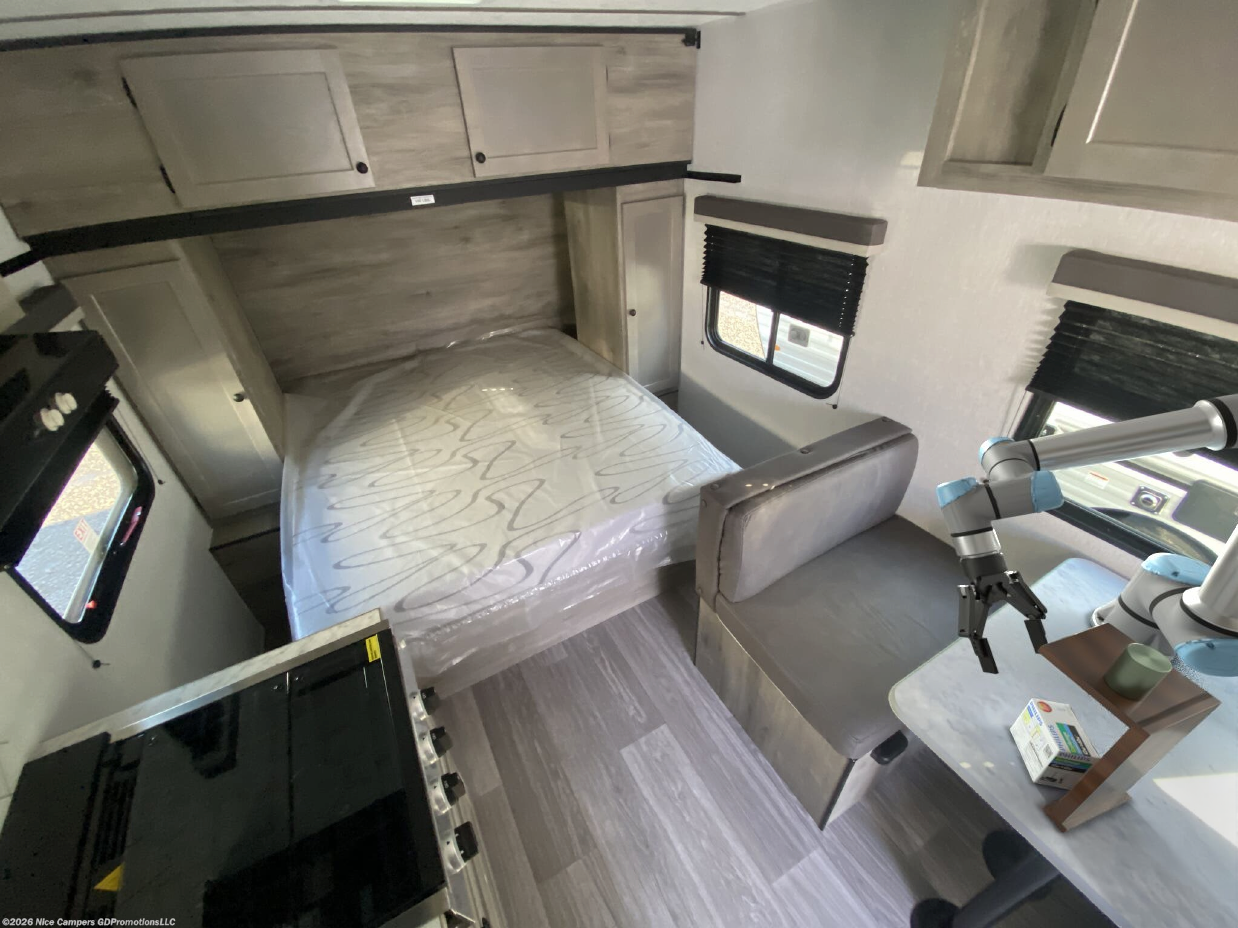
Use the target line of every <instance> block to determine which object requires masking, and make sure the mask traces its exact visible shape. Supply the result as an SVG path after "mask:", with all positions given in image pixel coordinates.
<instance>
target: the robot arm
mask: <svg viewBox="0 0 1238 928" xmlns="http://www.w3.org/2000/svg"><path fill="white" fill-rule="evenodd" d="M1200 448H1207V449H1210V450H1212V451H1220V450H1221V451H1222V450H1230V449H1238V393H1234V394H1228V395H1222V396H1217V397H1211V398H1207V399H1201V400H1198V401H1197V402H1195V404H1194V405H1193V406H1192V407H1189V408H1182V409H1178V410H1173V411H1168V412H1162V413H1158V414H1152V415H1147V416H1143V417H1138V418H1137V417H1136V418H1133V419H1127V420H1123V421H1122V420H1121V421H1118V422H1111V423H1107V424H1101V425H1097V426H1091V427H1087V428H1080V429H1077V430H1072V431H1066V432H1061V433H1056V434H1050V435H1046V436H1041V437H1040V436H1039V437H1034V438H1031V439H1025V440H1024V439H1023V440H1020V441H1016V440H1014V439H1013V438H1011V437H1008V436H995V437H992V438H989V439H987V440H985V442H984V443H982V445H980V447H979V450H978V457H979V461H980V467H982V470H984V472H985V474H986V475H987V477H988V479H989V482H985V483H979V482H978V481H977V479H976V478H975V477H974V476H969V477H964V478H961V479H960V478H959V479H956V480H951V481H947V482H943V483H939V484H938V485H937V486H936V488H935V494H936V496H937V500H938V504H939V508H940V510H941V513H942V516H943V518H944V521H945V524H946V527H947V529H948V532H949V535H950V537H951V541H952V544H953V546H954V549H955V553H956V556H958V557H960V558H959V560H958V563H959V564H960V568H961V571H962V574H963V576H964V577H966V578H967V579H968V581H969V584H968V585H967V584H966V585H965V584H964V585H961V584H960V585H957V587H956V590H957V594H958V619H957V635H958V637H959V638H965V639H968V640H969V641H970V645H971V647H972V650H973V653H974V655H975V656H976V657H977V658H978V661H979V664H980V667H981V670H982V673H986V674H991V675H998V674H999V673H1000V672H999V668H998V666H997V663H996V660H995V657H994V654H993V651H992V648H991V646H990V642H989V640H988V637H983V636H984V632H985V627H986V623H987V619H988V616H989V611H990V608H991V607H993V605H994V604H995V603H998V602H1000V601H1005V602H1006V603H1008V604H1009V605H1010V606H1011V607H1013V608H1014V609H1015V610H1016V611H1017V612H1019V613H1020V614H1021V615H1022V616H1023V617H1025V618H1026V619H1024V620H1023V622H1024V626H1025V628H1026V631H1027V634H1028V637H1029V639H1030V643H1031V646H1032V648H1033V650H1034V653H1035V654H1037V655H1041V654H1040V653H1039V652H1038V650H1039V648H1040V647H1041V646H1042V645H1045V644H1048V643H1049V642H1048V639H1047V636H1046V635H1047V633H1046V630H1045V627H1044V623H1043V621H1042V620H1046V619H1047V615H1046V614H1048V611H1049V610H1048V609H1047V607H1046V606H1045V605H1044V603H1043V602H1042V601H1041V600H1040V599H1039V598H1038V596H1037V595H1036V594H1035V593H1034V592H1033V590H1032V589H1031V588H1030V587H1029V586H1028V584H1027V583H1026V582H1025V580H1024V578H1023V576H1022V574H1021V572H1020V571H1019V570H1012V571H1011V570H1009V566H1008V564H1007V562H1006V561H1007V560H1006V558H1005V555H1004V553H1002V552H1001V551H1000V550H1001V549H1002V547H1001V544H1000V541H999V539H998V536H997V534H996V531H995V528H994V526H993V523H992V522H993V521H998V520H1003V519H1004V520H1005V519H1010V518H1014V517H1015V518H1016V517H1021V516H1027V515H1032V514H1040V513H1041V514H1042V512H1045V511H1049V510H1054V509H1058V508H1061V507H1062V506H1063V505H1064V502H1065V499H1064V498H1065V497H1064V494H1063V491H1062V488H1061V485H1060V483H1059V480H1058V479H1057V477H1056V475H1055V474H1054V473H1055V472H1060V471H1061V472H1062V471H1067V470H1072V469H1078V468H1085V467H1090V466H1097V465H1102V464H1108V463H1115V462H1120V461H1126V460H1135V459H1138V458H1139V459H1141V458H1144V457H1151V456H1158V455H1162V454H1169V453H1175V452H1176V453H1177V452H1181V451H1188V450H1193V449H1200ZM1008 570H1009V571H1008ZM1089 619H1090V620H1089V621H1090V626H1091V628H1093V627H1095V626H1098V625H1101V624H1104V623H1107V622H1109V623H1110V624H1111V625H1113V626H1114V627H1116V628H1117V629H1119V630H1120V631H1121V632H1123V633H1124V634H1126V635H1127V636H1129V637H1130V638H1131V639H1133V640H1134V641H1136V642H1137V643H1138V644H1142V645H1146V646H1149V647H1151V648H1153V649H1155V650H1157V651H1158V652H1160V653H1161V654H1163V655H1164V656H1165V657H1166V658H1167V659H1168V660H1169V661H1170V662H1171V661H1173V660H1174V659H1175V658H1176V657H1177V656H1178V657H1179V659H1180V660H1181V661H1182V662H1183V663H1184V664H1185V666H1187V667H1188V668H1189V669H1191V670H1192V671H1194V672H1197V673H1200V674H1203V675H1205V676H1210V677H1211V676H1212V677H1219V678H1220V677H1221V678H1235V677H1236V678H1237V677H1238V524H1237V525H1236V527H1235V529H1234V530H1233V532H1232V534H1231V535H1230V537H1229V538H1228V540H1227V542H1226V543H1225V545H1224V546H1223V549H1222V550H1221V552H1220V554H1219V555H1218V557H1217V559H1216V560H1215V562H1214V563H1213V565H1212V567H1211V566H1209V565H1207V564H1205V563H1203V562H1202V561H1199V560H1195V559H1193V558H1190V557H1188V556H1184V555H1181V554H1175V553H1168V552H1158V553H1153V554H1151V555H1150V556H1148V557H1147V558H1146V559H1145V561H1143V562H1142V563H1141V564H1140V566H1139V567H1138V569H1137V571H1136V572H1135V573H1134V575H1133V576H1132V577H1131V579H1130V580H1129V581H1128V583H1127V584H1126V586H1125V587H1124V589H1122V591H1121V593H1120V594H1119V595H1118V597H1116V598H1114V599H1111V601H1109V602H1107V603H1105V604H1103V605H1101V606H1100V607H1098V608H1096V609H1095V610H1094V612H1093V613H1092V614H1091V616H1090V618H1089Z"/></svg>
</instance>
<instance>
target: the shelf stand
mask: <svg viewBox="0 0 1238 928" xmlns="http://www.w3.org/2000/svg"><path fill="white" fill-rule="evenodd" d="M1038 652H1039V653H1040V654H1039V655H1041V656H1042V657H1043V658H1044V659H1045V660H1046V661H1048V662H1049V663H1050V664H1052V665H1053V666H1054V667H1055V668H1056V669H1058V671H1060V672H1061V673H1062V674H1064V675H1065V676H1066V677H1067V678H1068V679H1070V680H1071V681H1072V682H1073V683H1075V684H1076V685H1077V686H1078V687H1079V688H1081V689H1082V690H1083V691H1084V692H1085V693H1087V694H1088V695H1089V696H1090V697H1091V698H1092V699H1094V700H1095V701H1096V702H1097V703H1098V704H1100V705H1101V706H1102V707H1103V708H1105V710H1107V711H1108V712H1110V714H1112V715H1113V716H1114V717H1115V718H1116V719H1118V720H1119V721H1120V722H1121V723H1123V724H1124V725H1125V726H1126V727H1127V728H1128V729H1127V730H1126V731H1125V732H1124V733H1123V734H1122V735H1121V736H1120V737H1119V738H1118V740H1117V741H1116V742H1115V743H1113V745H1111V747H1110V748H1109V749H1108V750H1107V751H1106V752H1105V753H1104V754H1103V755H1102V756H1100V758H1101V759H1100V760H1099V761H1098V762H1097V763H1096V764H1095V765H1094V766H1093V767H1092V768H1091V769H1090V770H1089V771H1088V772H1087V773H1086V774H1085V775H1084V776H1083V777H1082V778H1081V780H1080V781H1079V782H1078V783H1077V784H1076V785H1075V786H1074V787H1073V788H1072V789H1071V790H1068V792H1067V793H1066V794H1065V795H1064V796H1061V797H1059V798H1057V799H1055V800H1053V801H1051V802H1049V803H1047V804H1044V805H1043V806H1042V808H1041V810H1042V811H1043V812H1044V814H1046V815H1047V817H1049V819H1051V821H1052V822H1053V823H1054V824H1055V825H1056V826H1057V827H1058V828H1059V829H1060V831H1062V832H1063V833H1064V834H1066V833H1067V832H1069V831H1071V830H1073V829H1076V828H1078V827H1080V826H1082V825H1084V824H1086V823H1087V822H1091V820H1094V819H1096V818H1098V817H1100V816H1102V815H1104V814H1105V813H1108V812H1110V811H1112V810H1114V809H1116V808H1118V807H1120V806H1123V805H1125V804H1127V803H1128V802H1130V801H1131V800H1132V798H1133V797H1132V796H1131V795H1130V794H1128V793H1127V792H1128V791H1129V790H1130V789H1131V788H1132V787H1133V786H1135V784H1136V783H1138V782H1139V781H1140V780H1141V779H1142V778H1143V777H1144V776H1145V775H1146V774H1147V773H1148V772H1149V771H1150V770H1152V769H1153V768H1154V767H1156V765H1157V764H1158V763H1159V762H1161V760H1163V758H1165V757H1166V756H1167V755H1168V754H1169V753H1170V752H1171V751H1172V750H1173V749H1174V748H1175V747H1177V745H1178V744H1179V743H1181V742H1182V741H1183V740H1184V739H1185V738H1186V737H1187V736H1188V735H1190V733H1192V732H1193V731H1194V730H1195V729H1196V728H1197V727H1198V726H1200V724H1201V723H1202V722H1204V720H1206V719H1207V718H1208V717H1209V716H1210V715H1211V714H1212V713H1213V712H1214V711H1215V710H1216V709H1217V708H1218V707H1219V706H1221V705H1222V703H1223V701H1221V700H1220V699H1219V698H1217V697H1215V696H1214V695H1213V694H1211V693H1210V692H1208V691H1207V690H1205V689H1204V688H1203V687H1201V686H1200V685H1199V684H1197V683H1195V682H1194V681H1193V680H1191V679H1190V678H1188V677H1187V676H1185V675H1184V674H1182V673H1181V672H1180V671H1178V670H1177V669H1175V667H1173V664H1172V663H1171V661H1169V660H1168V659H1167V658H1166V657H1165V656H1164V655H1163V654H1161V653H1160V652H1158V651H1157V650H1155V649H1153V648H1151V647H1149V646H1146V645H1142V644H1138V643H1137V642H1136V641H1134V640H1133V639H1131V638H1130V637H1129V636H1127V635H1126V634H1124V633H1123V632H1121V631H1120V630H1119V629H1117V628H1116V627H1114V626H1113V625H1111V624H1110V623H1109V622H1107V623H1104V624H1101V625H1098V626H1095V627H1090V628H1087V629H1085V630H1082V631H1079V632H1075V633H1073V634H1071V635H1068V636H1065V637H1062V638H1059V639H1057V640H1054V641H1050V642H1048V644H1045V645H1042V646H1041V647H1040V648H1039V650H1038Z"/></svg>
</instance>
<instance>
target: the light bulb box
mask: <svg viewBox="0 0 1238 928" xmlns="http://www.w3.org/2000/svg"><path fill="white" fill-rule="evenodd" d="M1074 712H1075V711H1074V710H1073V709H1072V707H1071V705H1070V704H1068V703H1062V702H1056V701H1050V700H1045V699H1040V698H1035V697H1034V698H1033V697H1032V698H1031V699H1030V700H1029V702H1027V705H1025V707H1024V708H1023V710H1022V711H1021V713H1020V714H1019V716H1018V717H1017V719H1016V720H1014V723H1012V726H1010V728H1009V731H1010V733H1011V735H1012V737H1013V740H1014V742H1015V745H1016V746H1017V749H1018V750H1019V753H1020V756H1021V757H1022V760H1023V762H1024V765H1025V767H1026V769H1027V771H1028V773H1029V776H1030V778H1031V780H1032V782H1033V783H1035V784H1039V785H1043V786H1050V787H1054V788H1059V789H1064V790H1068V791H1070V790H1071V789H1072V788H1073V787H1074V786H1075V785H1076V784H1077V783H1078V782H1079V781H1080V780H1081V778H1082V777H1083V776H1084V775H1085V774H1086V773H1087V772H1088V771H1089V770H1090V769H1091V768H1092V767H1093V766H1094V765H1095V764H1096V763H1097V762H1098V761H1099V760H1100V759H1101V756H1100V755H1099V753H1098V751H1097V749H1096V747H1095V746H1094V745H1093V743H1092V741H1091V740H1090V738H1089V736H1088V735H1087V733H1086V731H1085V730H1084V728H1083V726H1082V724H1081V723H1080V721H1079V718H1078V717H1077V716H1076V713H1074Z"/></svg>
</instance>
